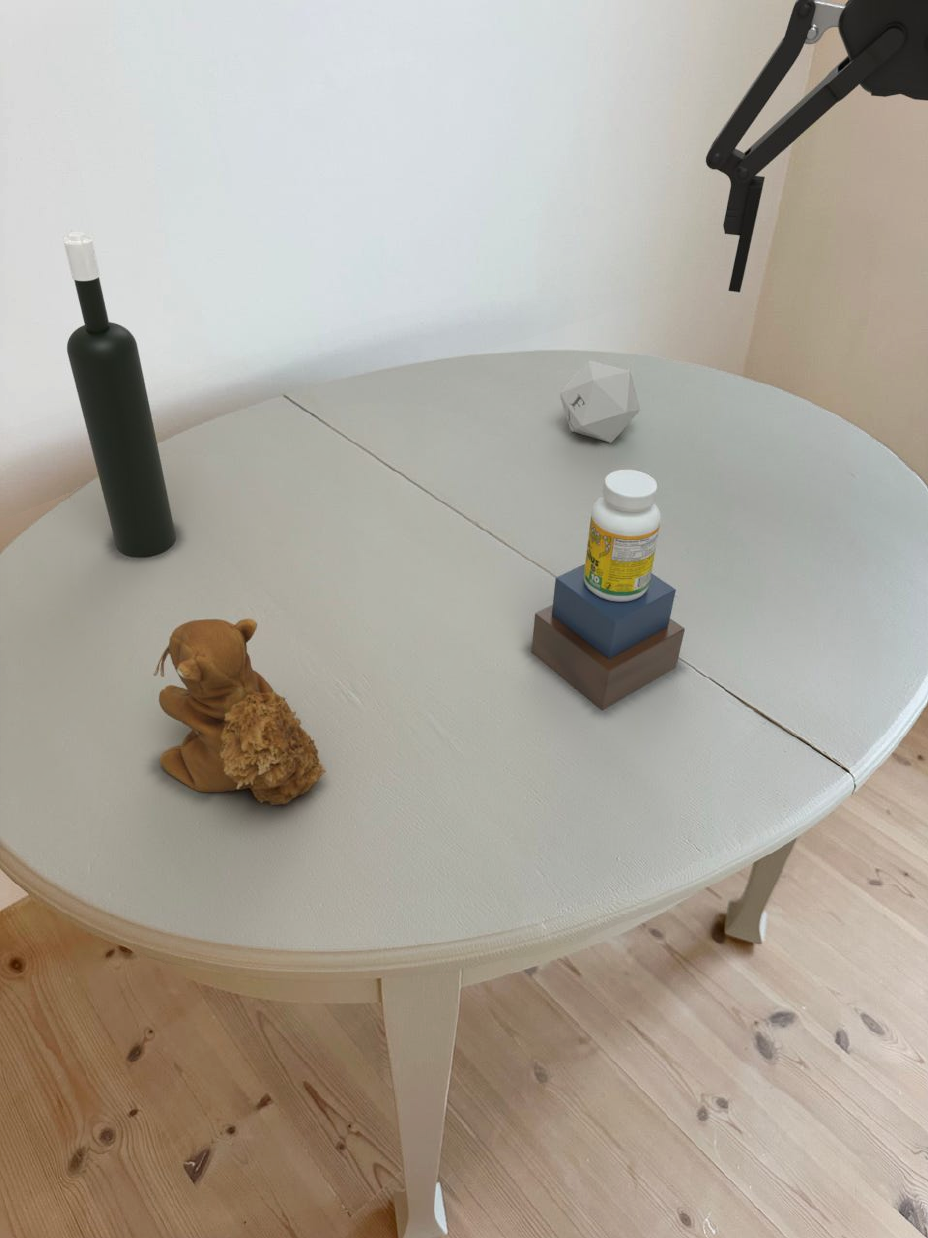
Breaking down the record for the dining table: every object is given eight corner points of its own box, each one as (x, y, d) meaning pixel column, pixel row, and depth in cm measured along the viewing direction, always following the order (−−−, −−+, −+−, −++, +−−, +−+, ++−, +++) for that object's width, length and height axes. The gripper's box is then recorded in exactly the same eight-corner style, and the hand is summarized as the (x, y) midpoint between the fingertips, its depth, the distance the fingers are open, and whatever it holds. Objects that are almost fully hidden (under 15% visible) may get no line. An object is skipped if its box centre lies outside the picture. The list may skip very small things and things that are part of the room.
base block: (676, 667, 83) (685, 628, 80) (601, 711, 79) (608, 671, 76) (604, 614, 89) (610, 575, 86) (530, 652, 84) (534, 613, 81)
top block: (668, 626, 80) (676, 589, 78) (608, 659, 77) (615, 621, 75) (610, 585, 85) (616, 548, 82) (551, 614, 81) (555, 577, 79)
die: (558, 416, 120) (541, 375, 110) (619, 377, 119) (607, 332, 109) (592, 467, 116) (578, 428, 107) (656, 426, 115) (647, 384, 106)
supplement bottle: (652, 604, 76) (672, 503, 70) (585, 603, 76) (599, 501, 70) (643, 564, 80) (661, 465, 74) (579, 563, 80) (592, 463, 74)
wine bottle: (131, 565, 93) (55, 251, 73) (106, 538, 96) (27, 231, 77) (186, 544, 95) (126, 237, 76) (160, 518, 99) (96, 218, 80)
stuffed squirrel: (251, 691, 80) (230, 564, 71) (364, 783, 72) (355, 654, 64) (145, 754, 74) (109, 624, 66) (256, 862, 67) (231, 731, 58)
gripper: (1207, -100, 49) (1038, 304, 63) (718, -122, 54) (659, 255, 68) (1253, -92, 44) (1057, 349, 57) (703, -117, 49) (642, 292, 63)
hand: (840, 299), depth 63 cm, fingers open, 13 cm apart
